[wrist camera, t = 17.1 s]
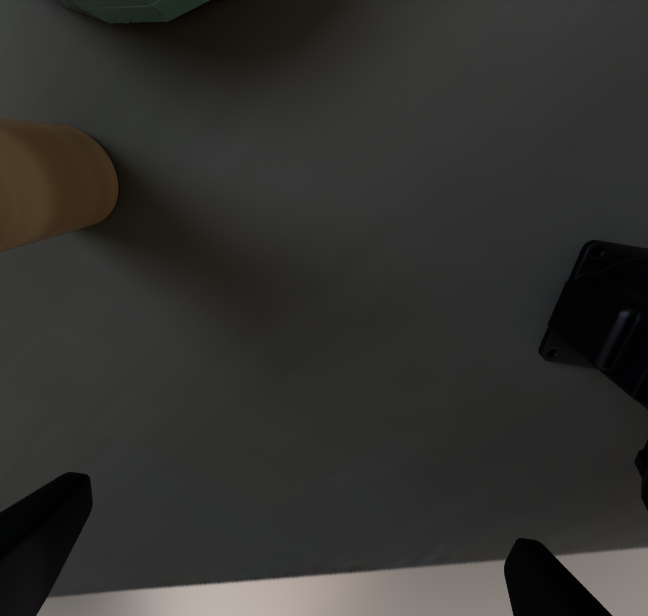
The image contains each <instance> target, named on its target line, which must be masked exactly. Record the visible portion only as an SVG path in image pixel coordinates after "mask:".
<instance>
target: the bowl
mask: <svg viewBox="0 0 648 616" xmlns="http://www.w3.org/2000/svg"><path fill="white" fill-rule="evenodd" d="M50 1H52V2H55V3H57V4H60V5H63V6H65V7H68V8H70V9H73V10H76V11H78V12H81V13H83V14H86V15H88V16H91V17H94V18H96V19H99V20H101V21H104V22H107V23H140V22H168V21H169V20H172V19H174V18H176V17H178V16H180V15H182V14H184V13H186V12H188V11H190V10H192V9H194V8H196V7H198V6H200V5H202V4H203V3H205V2H207V1H209V0H50Z"/></svg>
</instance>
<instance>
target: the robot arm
mask: <svg viewBox="0 0 648 616" xmlns="http://www.w3.org/2000/svg"><path fill="white" fill-rule="evenodd" d="M596 247H597V248H598V250H597V252H596V253H595V254H594V255H592V251H593V249H594V248H596ZM550 349H553V351H552V352H551V353H547V352H548V351H549V350H550ZM539 354H540V355H541V356H542V357H543V358H544V359H545V360H547V361H551V362H557V363H564V364H570V365H576V366H582V367H588V368H595V369H598V370H600V371H601V372H602V373H603V374H604V375H606V376H607V377H608V378H609V379H610V380H612V381H613V382H614V383H615V384H616V385H618V386H619V387H620V388H621V389H622V390H624V391H625V392H626V393H627V394H628V395H629V396H631V397H632V398H633V399H634V400H636V401H638V402H639V403H640V404H641V405H642V406H644V407H645V408H646V409H647V410H648V249H646V248H640V247H634V246H628V245H622V244H617V243H611V242H605V241H599V240H592V241H589V242H587V243H586V244H585V245H584V246H583V248H582V250H581V252H580V254H579V257H578V259H577V261H576V264H575V266H574V268H573V270H572V273H571V275H570V277H569V280H568V281H567V282H566V283H565V286H564V288H563V290H562V293H561V295H560V297H559V300H558V302H557V304H556V306H555V309H554V311H553V313H552V316H551V318H550V320H549V323H548V329H547V331H546V333H545V336H544V338H543V340H542V342H541V345H540V347H539ZM635 465H636V467H637V469H638V471H639V473H640V475H641V477H642V485H641V498H642V500H643V502H644V504H645V506H646V508H647V510H648V440H647V442H646V444H645V447H644V449H643V450H640V451H639V452H638V454H637V457H636V459H635ZM92 504H93V500H92V491H91V482H90V477H89V476H88V475H87V474H82V473H75V472H67V473H65V474H63V475H61V476H59V477H58V478H56V479H54V480H53V481H51V482H49V483H48V484H46V485H44V486H43V487H41V488H40V489H38V490H36V491H35V492H33V493H31V494H30V495H28V496H26V497H25V498H23V499H22V500H20V501H18V502H17V503H15V504H13V505H12V506H10V507H8V508H7V509H5V510H3V511H2V512H0V616H36V615H37V613H38V612H39V610H40V608H41V607H42V605H43V603H44V602H45V600H46V598H47V597H48V595H49V593H50V591H51V589H52V587H53V585H54V583H55V582H56V580H57V578H58V576H59V574H60V572H61V570H62V568H63V566H64V564H65V562H66V560H67V558H68V556H69V554H70V552H71V550H72V548H73V546H74V544H75V542H76V540H77V538H78V536H79V534H80V533H81V531H82V529H83V527H84V525H85V523H86V521H87V519H88V517H89V515H90V512H91V509H92ZM504 575H505V580H506V584H507V588H508V593H509V598H510V602H511V606H512V611H513V615H514V616H612V615H611V614H610V613H609V612H608V611H607V610H606V609H605V608H604V607H603V606H602V605H601V604H600V602H599V601H598V600H597V599H596V598H595V597H593V595H592V594H591V593H589V591H588V590H587V589H586V588H585V587H584V586H583V585H582V584H581V583H580V582H579V581H578V580H577V579H576V578H575V577H574V576H573V575H572V574H571V573H570V572H569V571H568V570H567V569H566V568H565V567H564V566H563V565H562V564H561V563H560V562H559V560H558V559H556V557H555V556H554V555H553V554H552V553H551V552H550V551H549V550H548V549H547V548H546V547H545V546H544V545H543V544H542V543H540V542H539V541H536V540H532V539H525V538H519V539H517V540H516V542H515V544H514V545H513V547H512V549H511V551H510V553H509V555H508V557H507V559H506V561H505V565H504Z"/></svg>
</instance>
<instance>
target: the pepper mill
mask: <svg viewBox="0 0 648 616" xmlns="http://www.w3.org/2000/svg"><path fill="white" fill-rule="evenodd" d="M117 197H118V179H117V174H116V171H115V168H114V166H113V163H112V161H111V160H110V158H109V156H108V155H107V153H106V152H105V150H104V149H103V148H102V147H101V146H100V145H99V144H98V143H97V142H96V141H95V140H94V139H93V138H92V137H90V136H89V135H88V134H86V133H84V132H83V131H81V130H79V129H77V128H74V127H71V126H67V125H60V124H51V123H41V122H31V121H21V120H11V119H1V118H0V252H3V251H6V250H9V249H13V248H16V247H20V246H23V245H26V244H30V243H33V242H37V241H40V240H44V239H47V238H50V237H54V236H57V235H61V234H64V233H67V232H71V231H74V230H78V229H81V228H85V227H88V226H91V225H94V224H97V223H99V222H101V221H103V220H104V219H105V218H106V217H108V215H109V214H110V213H111V212H112V210H113V209H114V206H115V204H116V201H117Z"/></svg>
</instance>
